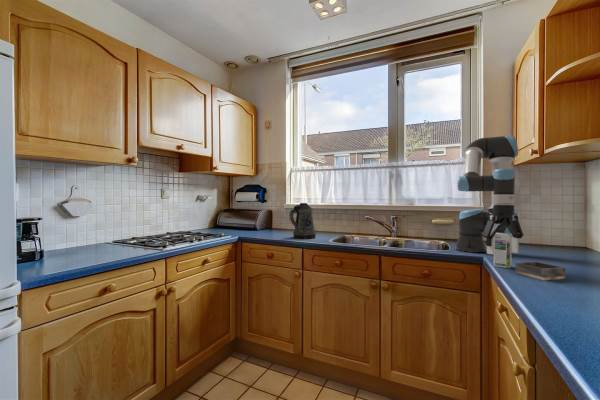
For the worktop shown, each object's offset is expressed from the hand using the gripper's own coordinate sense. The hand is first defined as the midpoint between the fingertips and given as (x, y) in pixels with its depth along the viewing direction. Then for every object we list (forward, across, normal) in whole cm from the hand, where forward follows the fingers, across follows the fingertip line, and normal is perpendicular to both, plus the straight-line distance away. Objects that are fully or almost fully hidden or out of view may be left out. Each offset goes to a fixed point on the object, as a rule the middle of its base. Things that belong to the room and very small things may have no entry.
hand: (502, 253), depth 125 cm
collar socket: (+6, 0, -15) cm, 16 cm away
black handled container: (+6, -61, +102) cm, 119 cm away
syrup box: (+6, 0, 0) cm, 6 cm away
